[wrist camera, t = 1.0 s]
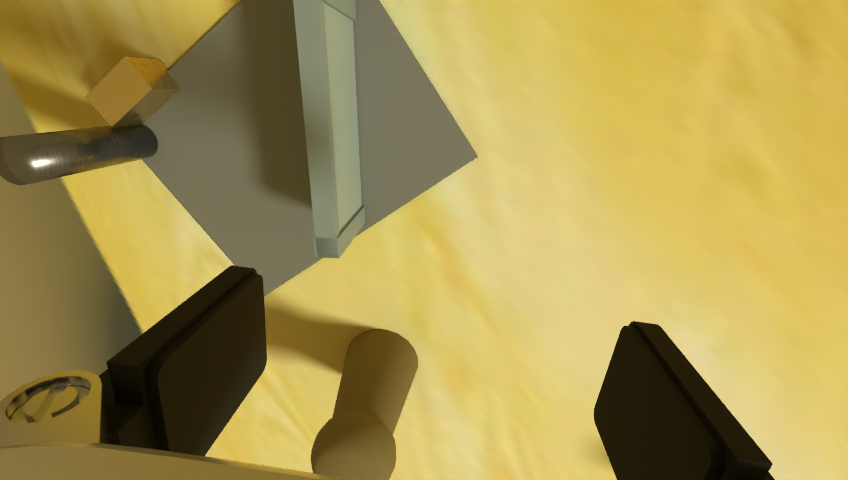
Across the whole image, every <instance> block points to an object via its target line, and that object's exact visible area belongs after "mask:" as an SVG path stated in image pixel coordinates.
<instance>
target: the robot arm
mask: <svg viewBox="0 0 848 480" xmlns="http://www.w3.org/2000/svg"><path fill="white" fill-rule="evenodd" d="M266 361H267V353H266V331H265V309H264V287H263V277H262V276H261V275H259V274H257V271H256V270H255V269H254V268H248V267H241V266H233V265H232V266H230V267H228V268H227V269H226V270H224V271H223V272H222V273H221V274H219V275H218V276H217V277H215V278H214V279H213V280H212V281H210V282H209V283H208V284H206V285H205V286H204V287H203V288H201V289H200V290H199V291H197V292H196V293H195V294H194V295H192V296H191V297H190V298H188V299H187V300H186V301H185V302H183V303H182V304H181V305H179V306H178V307H177V308H175V309H174V310H173V311H172V312H170V313H169V314H168V315H166V316H165V317H164V318H163V319H161V320H160V321H159V322H157V323H156V324H155V325H154V326H152V327H151V328H150V329H148V330H147V331H146V332H145V333H143V334H142V335H141V336H139V337H138V338H137V339H136V340H134V341H133V342H132V343H130V344H129V345H128V346H126V347H125V348H124V349H123V350H121V351H120V352H119V353H117V354H116V355H115V356H114V357H112V358H111V359H110V360H108V361H107V366H108V369H107V370H106V371H105V372H103V373H102V374H101V375H100V376H97V375H95V374H94V373H91V372H87V371H65V372H60V373H54V374H51V375H47V376H44V377H41V378H38V379H36V380H34V381H32V382H29V383H27V384H25V385H23V386H21V387H19V388H18V389H16V390H15V391H13V392H11V393H10V394H8V395H7V396H6V397H5V398H4V399H3V400H2V401H1V402H0V480H353V479H347V478H341V477H334V476H328V475H321V474H315V473H309V472H302V471H296V470H289V469H283V468H277V467H270V466H264V465H257V464H251V463H245V462H238V461H232V460H225V459H219V458H212V457H205V454H206V453H207V452H208V450H209V449H210V447H211V446H212V444H213V443H214V442H215V440H216V439H217V437H218V436H219V434H220V433H221V432H222V430H223V429H224V427H225V426H226V424H227V423H228V422H229V420H230V419H231V417H232V416H233V414H234V413H235V412H236V410H237V409H238V407H239V406H240V404H241V403H242V401H243V400H244V399H245V397H246V396H247V394H248V393H249V391H250V390H251V389H252V387H253V386H254V384H255V383H256V381H257V380H258V379H259V377H260V376H261V374H262V373H263V371H264V369H265V366H266ZM594 421H595V424H596V427H597V429H598V432H599V434H600V437H601V440H602V442H603V445H604V447H605V450H606V452H607V455H608V457H609V460H610V463H611V465H612V468H613V470H614V473H615V475H616V478H617V480H775V479H774V478H773V477H772V476H771V474H770V473H769V472H768V471H769V469H770V468H771V466H772V462H771V461H770V460H769V459H768V458H767V456H766V455H765V454H764V453H763V451H762V450H761V449H760V448H759V447H758V445H757V444H756V443H755V442H754V440H753V439H752V438H751V437H750V436H749V434H748V433H747V432H746V431H745V429H744V428H743V427H742V426H741V425H740V423H739V422H738V421H737V420H736V418H735V417H734V416H733V415H732V414H731V412H730V411H729V410H728V409H727V407H726V406H725V405H724V404H723V403H722V401H721V400H720V399H719V398H718V396H717V395H716V394H715V393H714V392H713V390H712V389H711V388H710V387H709V385H708V384H707V383H706V382H705V381H704V379H703V378H702V377H701V376H700V374H699V373H698V372H697V371H696V370H695V368H694V367H693V366H692V365H691V363H690V362H689V361H688V360H687V359H686V357H685V356H684V355H683V354H682V352H681V351H680V350H679V349H678V348H677V346H676V345H675V344H674V343H673V341H672V340H671V339H670V338H669V337H668V335H667V334H666V333H665V332H664V330H663V329H662V328H661V327H660V326H659V325H656V324H650V323H642V322H635V321H633V322H631V323H630V324H629V326H624V327H623V328H622V329H621V331H620V334H619V337H618V340H617V343H616V346H615V349H614V352H613V355H612V358H611V361H610V364H609V367H608V370H607V372H606V375H605V378H604V381H603V384H602V387H601V390H600V393H599V396H598V399H597V402H596V405H595V408H594Z"/></svg>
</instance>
